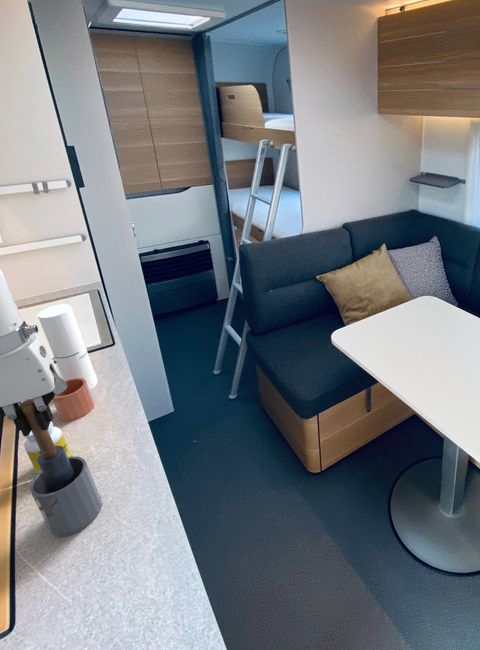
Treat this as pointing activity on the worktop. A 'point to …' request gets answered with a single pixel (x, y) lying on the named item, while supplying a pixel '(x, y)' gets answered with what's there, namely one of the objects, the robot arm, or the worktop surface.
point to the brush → (47, 449)
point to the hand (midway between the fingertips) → (37, 427)
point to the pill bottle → (35, 451)
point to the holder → (74, 400)
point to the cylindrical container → (67, 343)
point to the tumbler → (68, 500)
